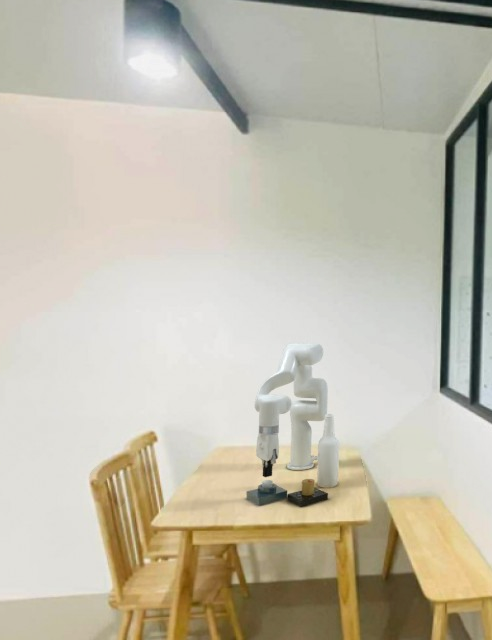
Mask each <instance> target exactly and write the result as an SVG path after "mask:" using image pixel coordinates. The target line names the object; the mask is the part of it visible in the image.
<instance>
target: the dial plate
mask: <svg viewBox="0 0 492 640" xmlns="http://www.w3.org/2000/svg"><path fill="white" fill-rule="evenodd" d="M327 500H329V493H328V492H326V491H324V490H322V489H320V488H317V487H315V486H314V494H313V495H309V496H305V495H302V489H301V490H298V491H294V492H290V493H287V501H288V502H290V503H292V504H294V505H296V506H298V507H299V508H304V507H307V506H310V505H313V504H318V503H321V502H325V501H327Z"/></svg>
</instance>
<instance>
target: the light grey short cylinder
mask: <svg viewBox="0 0 492 640" xmlns="http://www.w3.org/2000/svg"><path fill="white" fill-rule="evenodd" d="M273 483H274V482H273V480H271V479H270V480H269V479H266V480H262V481H261V484H262V488H270V487H273Z"/></svg>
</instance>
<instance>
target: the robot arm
mask: <svg viewBox="0 0 492 640" xmlns="http://www.w3.org/2000/svg"><path fill="white" fill-rule="evenodd" d="M323 356H324V348H323V346H322V344H320V343H308V342H307V343H305V342H302V343H301V342H292V343H288V344H287V345H286V347H285V348H284V349H283V351H282V354H281V357H280V360H279V362H278V366H277V368H276V371H275V373H274V374H272V375H271V376H269V377H268V378H267V379H266V380H265V381H264V382H262V384H260V386H259V388H258V391H257V394H256V397H255V400H254V409H255V410H256V412H257V413H258V435H257V440H256V451H255V456H256V457H257V458H258V459H260V460H261V463H262V465H261V466H262V477H264V478H269V477H272V476H273V467H274V464H277V459H278V458H279V456H280V446H279V445H280V442H279V441H280V440H279V432H280V415H284V414H286V413H288V412H289V417H290V461H289V462H288V463H287V464H286V468H287V469H288V470H293V471H304V470H305V471H306V470H309V469H312V468H313V467H314V466H315V461H318V455H312V426H311V424H310V423H309V422H322V421H325V415H327V414H328V392H329V391H328V383H327V381H326V380H325V379H324V378H319V377H318V378H317V377H316V378H315V377H313V366H314V365H315V364H318V363H319V362H320V361H321V360H323V359H322V358H323ZM291 383H293V394H294V395H293V396H295V398H296V397H297V398H300V399H299V400H295V401H293V402H292V400H291V397H289V396H288V395H284V394H270V393H271V392H272V391H274V390H275V389H278V388H280V387H283V386H286V385H288V384H291ZM301 399H303V400H301ZM305 399H315V400H305Z"/></svg>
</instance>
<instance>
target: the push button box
mask: <svg viewBox="0 0 492 640" xmlns="http://www.w3.org/2000/svg"><path fill="white" fill-rule="evenodd" d="M287 499H288V490H287V489H285V488H282V487H281V486H279V485H277V484H276V483H274V482H273V487H270V488H262V483H261V484H258V485H257V488H255V489H250V490H247V491H246V500H247V501H249V502H251V503H253V504H255V505H256V506H257V507H260V506H264V505H267V504H271V503H274V502H279V501H282V500H287Z"/></svg>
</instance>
